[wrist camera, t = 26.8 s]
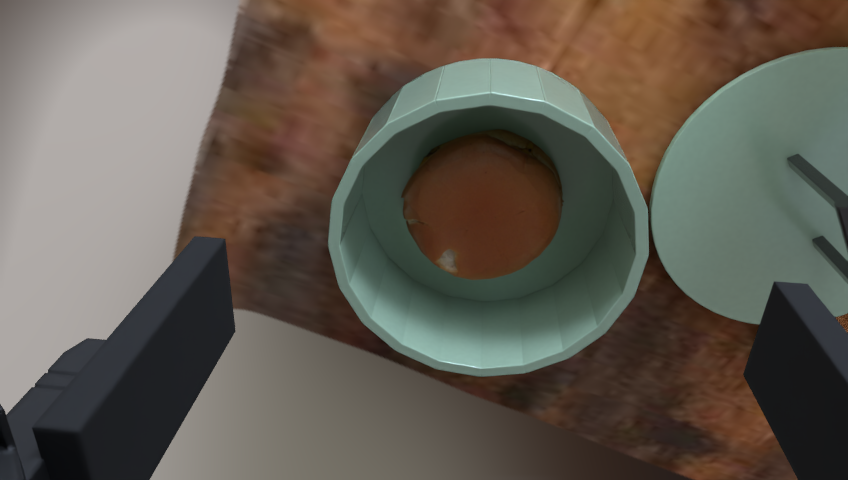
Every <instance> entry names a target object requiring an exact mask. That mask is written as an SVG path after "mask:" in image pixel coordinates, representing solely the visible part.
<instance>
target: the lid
mask: <svg viewBox="0 0 848 480" xmlns="http://www.w3.org/2000/svg"><path fill="white" fill-rule="evenodd" d="M650 227H651V234H652V239H653V242H654V245H655V248H656V251H657V254H658V256H659V258H660V260H661V262H662V264H663V266H664V268H665V270H666V272H667V273H668V274H669V276H670V277H671V278H672V280H673V281H674V282H675V284H676V285H677V286H678V287H679V288H680V289H681V290H682V291H683V292H684V293H685V294H686V295H688V296H689V297H690V298H692V299H693V300H694V301H696V302H697V303H698V304H700V305H702V306H703V307H705V308H707V309H709V310H711V311H713V312H715V313H717V314H720V315H722V316H725V317H727V318H730V319H734V320H738V321H742V322H746V323H751V324H759V325H760V322H761V319H762V316H763V313H764V310H765V307H766V304H767V301H768V298H769V295H770V292H771V289H772V286H773V283H774V281H777V282H790V283H803V284H808V285H809V286H810V287H811V289H812V290H813V291H814V292H815V294H816V295H817V296H818V297H819V299H820V300H821V301H822V302H823V303H824V305H825V306H826V307H827V308H828V310H829V311H830V312H831V313H832V315H833V316H834V317H838V316H842V315H844V314H847V313H848V47H828V48H820V49H813V50H806V51H802V52H798V53H794V54H790V55H786V56H783V57H780V58H778V59H775V60H772V61H770V62H767V63H764V64H762V65H760V66H758V67H756V68H754V69H752V70H750V71H748V72H746V73H744V74H742V75H740V76H739V77H737V78H736V79H734V80H733V81H731V82H730V83H728V84H726V85H725V86H723V87H722V88H721V89H719V90H718V91H717V92H716V93H714V94H713V95H712V96H711V97H710V98H708V99H707V100H706V101H705V102H704V103H703V104H702V105H701V106H700V107H699V108H698V109H697V110H696V111H695V112H694V113H693V114H692V115H691V116H690V117H689V118H688V119H687V120H686V122H685V123H684V124H683V126H682V127H681V128H680V130H679V131H678V132H677V133H676V135H675V136H674V138H673V140H672V141H671V143H670V145H669V146H668V148H667V150H666V151H665V153H664V156H663V158H662V160H661V162H660V165H659V167H658V169H657V172H656V176H655V179H654V183H653V186H652V192H651V199H650Z"/></svg>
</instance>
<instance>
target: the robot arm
mask: <svg viewBox="0 0 848 480" xmlns="http://www.w3.org/2000/svg"><path fill="white" fill-rule="evenodd" d="M234 333H235V323H234V314H233V305H232V296H231V287H230V278H229V269H228V260H227V251H226V242H225V239H221V238H208V237H194V238H193V239H192V240H191V241H190V243H189V244H188V245H187V246H186V247H185V248H184V250H183V251H182V252H181V253H180V254H179V255H178V257H177V258H176V259H175V260H174V261H173V262H172V264H171V265H170V266H169V267H168V268H167V269H166V271H165V272H164V273H163V274H162V275H161V277H160V278H159V279H158V280H157V281H156V282H155V284H154V285H153V286H152V287H151V288H150V290H149V291H148V292H147V293H146V294H145V295H144V296H143V298H142V299H141V300H140V301H139V302H138V303H137V305H136V306H135V307H134V308H133V309H132V311H131V312H130V313H129V314H128V315H127V316H126V317H125V319H124V320H123V321H122V322H121V323H120V325H119V326H118V327H117V328H116V329H115V330H114V331H113V333H112V334H111V335H110V336H109V337H108V339H107V340H100V339H89V338H88V339H86V340H84V341H82V342H81V343H79V344H77V345H76V346H74V347H72V348H71V349H69V350H67V351H66V352H64V353H63V354H62V355H61V356H60V358H59V359H58V360H57V361H56V362H55V363H54V364H53V365H52V366H51V367H50V368H49V370H48V373H45V374H44V375H43V376H42V377H41V378H40V379H39V380H38V381H37V383H35V387H32V388H31V389H30V390H29V391H28V392H27V393H26V394H25V395H24V396H23V398H22V399H21V400H20V401H19V402H18V403H17V404H16V405H15V406H14V407H13V409H11V411H10V412H9V413H8V414H7V415H6V414H5V411H4V409H3V408H2V406H1V405H0V480H149V479H150V478H151V476H152V474H153V472H154V471H155V469H156V467H157V466H158V464H159V462H160V460H161V459H162V457H163V455H164V453H165V452H166V450H167V448H168V447H169V445H170V443H171V441H172V440H173V438H174V436H175V434H176V433H177V431H178V429H179V428H180V426H181V424H182V422H183V421H184V419H185V417H186V415H187V414H188V412H189V410H190V409H191V407H192V405H193V403H194V402H195V400H196V398H197V397H198V395H199V393H200V391H201V389H202V388H203V386H204V384H205V383H206V381H207V379H208V378H209V376H210V374H211V372H212V371H213V369H214V367H215V365H216V364H217V362H218V360H219V359H220V357H221V355H222V353H223V352H224V350H225V348H226V346H227V344H228V343H229V341H230V340H231V338H232V336H233V334H234ZM743 375H744V377H745V379H746V381H747V383H748V385H749V387H750V389H751V390H752V392H753V394H754V396H755V398H756V400H757V402H758V404H759V406H760V408H761V410H762V411H763V413H764V415H765V417H766V419H767V421H768V423H769V425H770V427H771V429H772V431H773V433H774V434H775V436H776V438H777V440H778V442H779V444H780V446H781V448H782V450H783V452H784V454H785V455H786V457H787V459H788V461H789V463H790V465H791V467H792V469H793V471H794V473H795V475H796V476H797V478H798V480H848V333H847V332H846V331H845V329H844V328H843V327H842V326H841V325H840V323H839V322H838V321H837V320H836V318H835V317H834V316H833V315H832V313H831V312H830V311H829V310H828V308H827V307H826V306H825V305H824V303H823V302H822V301H821V300H820V299H819V297H818V296H817V295H816V294H815V292H814V291H813V290H812V289H811V287H810V286H809V285H808V284H803V283H790V282H777V281H774V283H773V286H772V289H771V292H770V295H769V298H768V301H767V304H766V307H765V310H764V313H763V316H762V319H761V322H760V325H759V328H758V331H757V334H756V337H755V340H754V343H753V346H752V349H751V352H750V355H749V358H748V361H747V364H746V368H745V371H744V374H743Z"/></svg>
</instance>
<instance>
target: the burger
mask: <svg viewBox="0 0 848 480" xmlns="http://www.w3.org/2000/svg"><path fill="white" fill-rule="evenodd" d="M562 196H563V193H562V184H561V181H560V176H559V174H558V172H557V169H556V167H555V165H554V163H553V162H552V160H551V158H550V157H549V156H548V155H547V154H545V152H544V151H543V150H542V149H541V148H540V147H538V146H537V145H536V144H534V143H533V142H532V141H530V140H528V139H526V138H524V137H522V136H519V135H517V134H515V133H513V132H510V131H507V130H501V129H497V130H487V131H481V132H476V133H472V134H468V135H464V136H461V137H458V138H456V139H453V140H450V141H448V142H446V143H443V144H441V145H439V146H437V147H435V148H433V149H431V151H430V152H429V153H428V154H427V156H425V157H424V158H423V160H422V162H421V164H420V165H419V168H418V169H416V171H415V172H414V173H413V175H412V176H411V178H410V179H409V180H408V182H407V184H406V186H405V188H404V190H403V192H402V196H401V198H404V205H403V216H404V219H406V220H407V221H406V224H407V227H408V231H409V233H410V234H411V236H412V237H413V239H414V241H415V242H416V244H417V246H418V247H419V249H420V251H421V252H422V253H423V254H424V255H425V256H426V257H427V258H428V259H429V260H430V261H431V262H432V263H433V264H435V265H436V266H437V267H439V268H441V269H443V270H445V271H447V272H448V273H450V274H451V275H453V276H454V277H459V278H464V279H469V280H481V279H493V278H497V277H500V276H504V275H508V274H511V273H513V272H516V271H518V270H520V269H522V268H524V267H525V266H526V265H528V264H529V263H530V262H531V261H533V260H534V259H536V258H537V257H538V256H540V254H541V253H542V252H543V251H544V250H545V249H546V248H547V246H548V245H549V244H550V243H551V241H552V240H553V238H554V236H555V234H556V232H557V229H558V227H559V223H560V219H561V213H562V206H563V204H562V203H563V202H564V200H562Z"/></svg>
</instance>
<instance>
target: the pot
mask: <svg viewBox="0 0 848 480" xmlns="http://www.w3.org/2000/svg"><path fill="white" fill-rule="evenodd" d="M497 129H501V130H507V131H510V132H513V133H515V134H517V135H519V136H522V137H524V138H526V139H528V140H530V141H532V142H533V143H534V144H536V145H537V146H538V147H540V148H541V149H542V150H543V151H544V152H545V154H547V155H548V156H549V157H550V158H551V160H552V162H553V163H554V165H555V167H556V169H557V172H558V174H559V176H560V181H561V184H562V193H563V196H562V200H564V202H563V203H562V204H563V206H562V213H561V219H560V223H559V227H558V229H557V232H556V234H555V236H554V238H553V240H552V241H551V243H550V244H549V245H548V246H547V248H546V249H545V250H544V251H543V252H542V253H541V254H540V256H538V257H537V258H536V259H534V260H533V261H531V262H530V263H529V264H528V265H526V266H525V267H524V268H522V269H520V270H518V271H516V272H513V273H511V274H508V275H504V276H500V277H497V278H493V279H481V280H469V279H464V278H459V277H454V276H453V275H451V274H450V273H448V272H447V271H445V270H443V269H441V268H439V267H437V266H436V265H435V264H433V263H432V262H431V261H430V260H429V259H428V258H427V257H426V256H425V255H424V254H423V253H422V252H421V251H420V249H419V247H418V246H417V244H416V242H415V241H414V239H413V237H412V236H411V234H410V233H409V231H408V227H407V224H406V221H407V220H406V219H404V216H403V205H404V198H401V196H402V192H403V190H404V188H405V186H406V184H407V182H408V180H409V179H410V178H411V176H412V175H413V173H414V172H415V171H416V169H418V168H419V165H420V164H421V162H422V160H423V158H424V157H425V156H427V154H428V153H429V152H430V151H431V149H433V148H435V147H437V146H439V145H441V144H443V143H446V142H448V141H450V140H453V139H456V138H458V137H461V136H464V135H468V134H472V133H476V132H481V131H487V130H497ZM328 248H329V252H330V256H331V259H332V263H333V267H334V271H335V275H336V278H337V282H338V286H339V288H340V290H341V291H342V293H343V294H344V296H345V297H346V299H347V301H348V302H349V304H350V305H351V307H352V308H353V310H354V311H355V313H356V314H357V316H358V317H359V319H360V320H361V322H362V323H363V324H364V325H365V326H366V327H368V328H369V329H370V330H371V331H372V332H374V333H375V334H376V335H377V336H378V337H380V338H381V339H382V340H383V341H384V342H386V343H387V344H388V345H389V346H390V347H392V348H393V349H394V350H395V351H397V352H399V353H401V354H403V355H406V356H408V357H410V358H412V359H414V360H417V361H419V362H421V363H423V364H425V365H428V366H430V367H432V368H434V369H437V370H443V371H449V372H455V373H460V374H466V375H472V376H478V377H480V376H481V377H486V376H499V375H512V374H525V373H528V372H531V371H534V370H537V369H540V368H543V367H546V366H549V365H552V364H554V363H557V362H560V361H563V360H566V359H568V358H570V357H572V356H573V355H575V354H576V353H578V352H579V351H581V350H582V349H584V348H585V347H586V346H588V345H589V344H591V343H592V342H594V341H595V340H597V339H598V338H599V337H601V336H602V335H604V334H605V333H606V332H607V331H608V330H609V328H610V327H611V326H612V325H613V323H614V322H615V321H616V320H617V318H618V317H619V316H620V314H621V313H622V312H623V311H624V309H625V308H626V307H627V306H628V304H629V303H630V302H631V300H632V299H633V297H634V296H635V293H636V291H637V288H638V285H639V282H640V279H641V276H642V273H643V271H644V268H645V265H646V262H647V259H648V256H649V237H648V208H647V206H646V203H645V201H644V198H643V196H642V193H641V191H640V189H639V186H638V184H637V181H636V179H635V176H634V174H633V172H632V169H631V167H630V164H629V162H628V160H627V159H626V157H625V155H624V153H623V151H622V149H621V147H620V145H619V143H618V141H617V139H616V137H615V135H614V133H613V131H612V129H611V127H610V125H609V123H608V121H607V120H606V119H605V117H604V116H603V115H602V114H601V113H600V112H599V111H598V110H597V108H596V107H595V106H594V105H593V104H592V103H591V102H590V100H589V99H588V98H587V97H586V96H585V95H584V94H583V93H582V92H581V91H580V90H579V89H578V88H576V87H575V86H573V85H571V84H570V83H569V82H567V81H565V80H564V79H562V78H560V77H559V76H557V75H555V74H554V73H551V72H549V71H547V70H544V69H542V68H539V67H537V66H534V65H530V64H526V63H523V62H519V61H513V60H505V59H473V60H466V61H459V62H456V63H452V64H448V65H445V66H441V67H439V68H437V69H434V70H432V71H430V72H427V73H425V74H423V75H421V76H420V77H418V78H416V79H415V80H413V81H411V82H410V83H408V84H406V85H405V86H404V87H402V88H401V89H400V90H399V91H398V92H397V93H395V94H394V95H393V96H392V97H391V98H390V99H389V100H388V102H387V103H386V104H385V105H384V106H383V107H382V108H381V109H380V110H379V111H378V112H377V113H376V114H375V115H374V117H373V118H372V120H371V122H370V124H369V126H368V128H367V130H366V132H365V134H364V135H363V137H362V139H361V141H360V143H359V145H358V147H357V149H356V151H355V153H354V155H353V157H352V159H351V161H350V163H349V165H348V167H347V169H346V171H345V173H344V175H343V178H342V180H341V182H340V184H339V186H338V188H337V190H336V192H335V195H334V197H333V199H332V202H331V213H330V224H329V235H328Z"/></svg>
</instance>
